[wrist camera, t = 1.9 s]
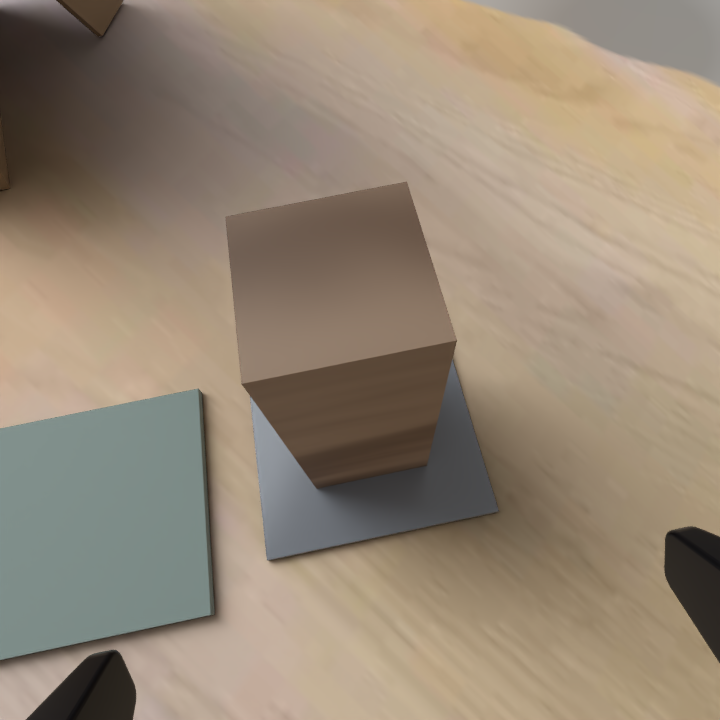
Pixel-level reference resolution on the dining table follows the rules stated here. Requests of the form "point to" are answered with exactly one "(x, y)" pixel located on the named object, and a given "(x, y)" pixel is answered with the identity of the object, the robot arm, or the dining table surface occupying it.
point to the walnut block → (342, 330)
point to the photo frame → (95, 10)
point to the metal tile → (372, 488)
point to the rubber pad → (103, 524)
